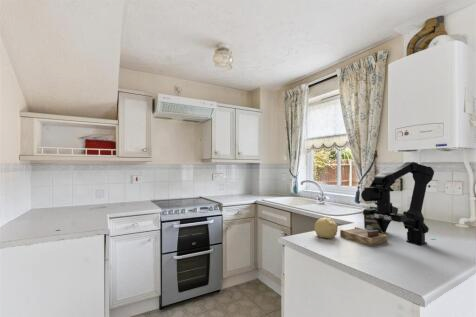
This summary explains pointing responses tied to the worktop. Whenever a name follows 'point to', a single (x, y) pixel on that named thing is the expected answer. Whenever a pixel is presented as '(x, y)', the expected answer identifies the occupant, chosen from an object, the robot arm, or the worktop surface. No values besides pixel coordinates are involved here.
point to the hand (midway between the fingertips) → (384, 232)
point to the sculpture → (326, 228)
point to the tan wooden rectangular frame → (364, 238)
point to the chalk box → (371, 222)
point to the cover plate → (365, 232)
